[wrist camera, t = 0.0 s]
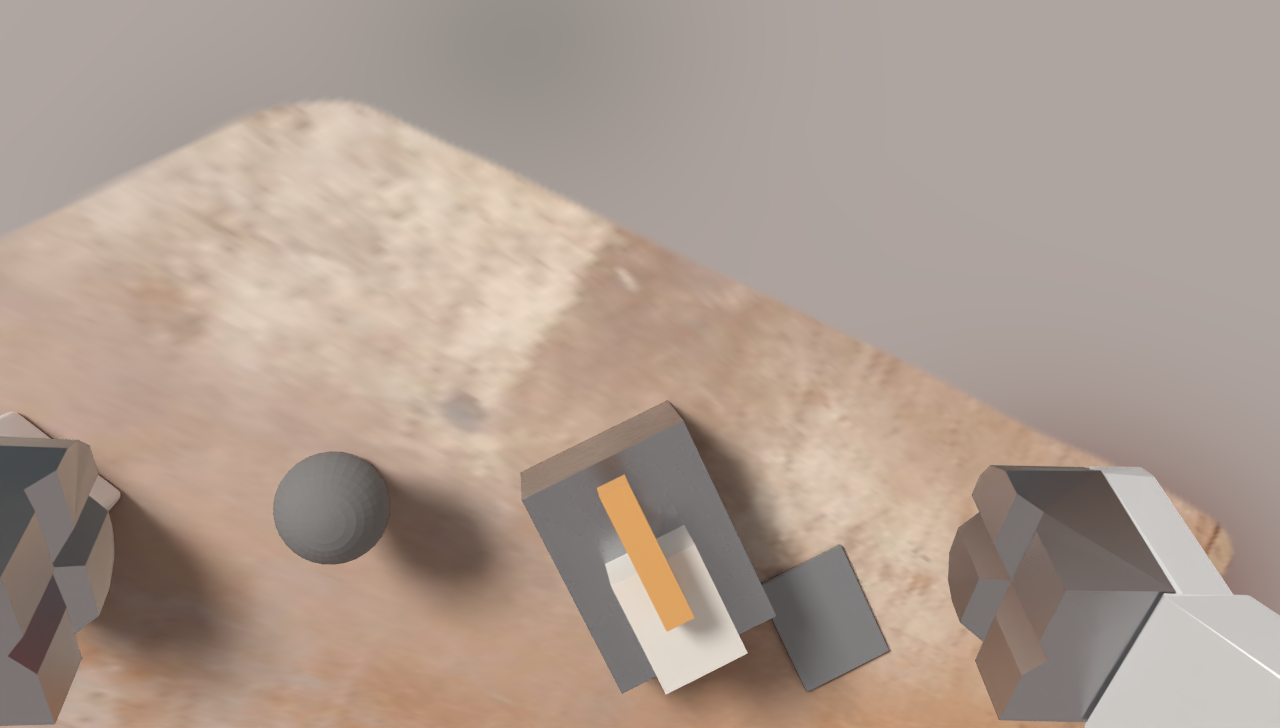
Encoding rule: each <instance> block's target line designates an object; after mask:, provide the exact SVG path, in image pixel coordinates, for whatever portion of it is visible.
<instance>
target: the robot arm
mask: <svg viewBox="0 0 1280 728" xmlns="http://www.w3.org/2000/svg"><path fill="white" fill-rule="evenodd" d="M97 476H98V470H97V467H96V464H95V461H94V458H93V454H92V451H91V448H90V445H88V444H86V443H84V442H82V441H80V440H68V439H48V438H28V437H8V436H0V726H12V725H46V724H55V723H56V721H57V718H58V716H59V713H60V711H61V709H62V706H63V704H64V701H65V699H66V696H67V694H68V691H69V689H70V687H71V684H72V682H73V679H74V677H75V674H76V672H77V669H78V667H79V665H80V662H81V660H82V656H81V652H80V649H79V646H78V642H77V639H76V636H75V634H76V633H77V632H78V631H80V630H81V629H82V628H84V627H85V626H86V625H87V624H89V623H90V622H91V621H93V620H94V619H95V618H97V617H98V616H99V615H100V612H101V610H102V607H103V604H104V602H105V599H106V596H107V594H108V591H109V588H110V582H111V576H112V570H113V564H114V557H115V552H114V533H113V528H112V524H111V520H110V515H109V511H108V510H107V509H105V508H104V507H103V506H102V505H100V504H99V503H98V502H97V501H95V500H94V499H93V498H92V497H90V496H89V494H90V492H91V490H92V487H93V485H94V483H95V481H96V479H97ZM972 497H973V499H974V501H975V503H976V506H977V508H978V510H979V513H978V514H976V515H975V516H974V517H972V518H971V519H969V520H968V521H967V522H965V523H964V524H963V525H961V526H960V527H959V528H958V530H957V533H956V536H955V538H954V541H953V544H952V547H951V550H950V552H949V572H948V582H949V587H950V593H951V598H952V602H953V605H954V608H955V610H956V613H957V616H958V618H959V621H960V623H961V624H963V625H964V626H965V627H966V628H967V629H968V630H970V631H971V632H972V633H973V634H974V635H976V636H977V637H978V638H979V639H980V640H982V641H983V643H982V645H981V648H980V650H979V652H978V655H977V657H976V660H975V662H976V664H977V667H978V669H979V672H980V674H981V677H982V679H983V682H984V684H985V686H986V689H987V691H988V694H989V696H990V699H991V701H992V704H993V706H994V709H995V711H996V714H997V716H998V719H999V720H1014V721H1057V722H1086V724H1085V726H1084V727H1085V728H1280V616H1279V615H1278V614H1276V613H1274V612H1273V611H1272V610H1270V609H1269V608H1267V607H1266V606H1264V605H1263V604H1261V603H1260V602H1258V601H1257V600H1255V599H1253V598H1252V597H1251V596H1249V595H1233V594H1232V592H1231V591H1230V589H1229V588H1228V586H1227V585H1226V583H1225V582H1224V580H1223V579H1222V577H1221V576H1220V574H1219V573H1218V571H1217V570H1216V568H1215V567H1214V565H1213V564H1212V562H1211V561H1210V559H1209V558H1208V556H1207V555H1206V553H1205V552H1204V550H1203V549H1202V547H1201V546H1200V544H1199V543H1198V541H1197V540H1196V538H1195V537H1194V535H1193V534H1192V532H1191V531H1190V529H1189V528H1188V526H1187V525H1186V523H1185V522H1184V521H1183V519H1182V518H1181V516H1180V515H1179V513H1178V512H1177V510H1176V509H1175V507H1174V506H1173V504H1172V503H1171V501H1170V500H1169V498H1168V497H1167V495H1166V494H1165V492H1164V491H1163V489H1162V488H1161V486H1160V485H1159V483H1158V482H1157V481H1156V479H1155V477H1154V476H1153V475H1152V474H1150V473H1149V472H1147V471H1146V470H1144V469H1143V468H1141V467H1089V468H1085V467H1054V466H1004V465H990V466H989V467H988V468H987V469H986V470H985V471H984V472H983V473H982V474H981V475H980V477H979V479H978V481H977V484H976V486H975V488H974V491H973V493H972Z"/></svg>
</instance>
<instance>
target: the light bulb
mask: <svg viewBox="0 0 1280 728" xmlns="http://www.w3.org/2000/svg"><path fill="white" fill-rule="evenodd" d="M273 515H274V520H275V525H276V528H277V530H278V533H279V535H280V537H281V538H282V539H283V541H284V542H285V544H286V545H287V546H288V547H289V548H290V549H291V550H292V551H293V552H294V553H296V554H297V555H299V556H300V557H302V558H304V559H306V560H309V561H311V562H315V563H320V564H340V563H346V562H349V561H351V560H354V559H357V558H358V557H360V556H362V555H363V554H365V553H367V552H368V551H369V550H370V549H371V548H372V547H373V546H375V545H376V543H377V542H378V541H379V539H380V538H381V537H382V535H383V532H384V530H385V528H386V526H387V523H388V519H389V515H390V499H389V494H388V490H387V487H386V485H385V482H384V480H383V479H382V477H381V476H380V474H379V473H378V471H377V470H376V469H375V468H374V467H373V466H372V465H371V464H369V463H368V462H367V461H366V460H364V459H363V458H361V457H358V456H355V455H352V454H348V453H344V452H325V453H319V454H316V455H313V456H310V457H308V458H306V459H304V460H303V461H301V462H299V463H297V464H296V465H295V466H294V467H293V468H292V469H291V470H290V471H289V472H288V473H287V474H286V475H285V477H284V478H283V479H282V481H281V482H280V484H279V487H278V489H277V491H276V494H275V498H274V506H273Z"/></svg>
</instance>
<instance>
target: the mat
mask: <svg viewBox="0 0 1280 728" xmlns="http://www.w3.org/2000/svg"><path fill="white" fill-rule="evenodd" d="M761 585H762V587H763V589H764V591H765V593H766V595H767V597H768V599H769V602H770V604H771V606H772V608H773V610H774V612H775V614H776V616H775V617H773V618H772V620H773V622H774V625H775V627H776V629H777V631H778V633H779V635H780V637H781V639H782V641H783V643H784V646H785V648H786V650H787V652H788V654H789V656H790V658H791V660H792V662H793V664H794V666H795V669H796V671H797V673H798V675H799V677H800V679H801V681H802V683H803V685H804V687H805V690H806V691H807V692H809V691H811V690H813V689H815V688H817V687H819V686H821V685H822V684H824V683H826V682H828V681H830V680H832V679H834V678H836V677H838V676H840V675H842V674H844V673H846V672H848V671H850V670H852V669H854V668H856V667H858V666H860V665H862V664H864V663H866V662H868V661H870V660H872V659H874V658H876V657H878V656H880V655H882V654H883V653H885V652H887V651H889V649H888V647H887V645H886V643H885V641H884V638H883V636H882V634H881V632H880V630H879V627H878V625H877V623H876V621H875V619H874V616H873V614H872V612H871V610H870V608H869V605H868V603H867V601H866V599H865V597H864V594H863V592H862V590H861V588H860V586H859V583H858V581H857V579H856V577H855V575H854V572H853V570H852V568H851V566H850V564H849V561H848V559H847V557H846V555H845V553H844V550H843V548H842V546H841V545H838V546H836V547H834V548H832V549H830V550H828V551H826V552H824V553H822V554H820V555H818V556H816V557H814V558H812V559H810V560H808V561H806V562H804V563H802V564H800V565H798V566H796V567H794V568H792V569H790V570H788V571H786V572H784V573H782V574H780V575H778V576H776V577H774V578H772V579H770V580H768V581H766V582H764V583H762V584H761Z"/></svg>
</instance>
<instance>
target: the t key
mask: <svg viewBox="0 0 1280 728" xmlns="http://www.w3.org/2000/svg"><path fill="white" fill-rule="evenodd" d="M597 491H598V494H599V497H600V500H601V502H602V504H603V506H604V508H605V510H606V512H607V514H608V516H609V518H610V520H611V522H612V524H613V525H614V527H615V529H616V531H617V533H618V535H619V537H620V539H621V541H622V543H623V545H624V547H625V549H626V551H627V553H628V555H629V557H630V559H631V561H632V563H633V565H634V567H635V569H636V571H637V573H638V575H639V577H640V579H641V581H642V583H643V585H644V587H645V589H646V591H647V593H648V595H649V597H650V599H651V601H652V603H653V605H654V607H655V609H656V611H657V613H658V615H659V617H660V619H661V621H662V623H663V625H664V627H665V629H666V631H667V632H668V631H670V630H672V629H674V628H676V627H678V626H680V625H682V624H684V623H686V622H688V621H690V620H692V619H694V618H695V617H694V615H693V613H692V611H691V608H690V606H689V604H688V602H687V600H686V598H685V596H684V594H683V592H682V590H681V588H680V586H679V584H678V582H677V580H676V578H675V576H674V574H673V572H672V570H671V568H670V566H669V564H668V561H667V559H666V557H665V555H664V553H663V551H662V549H661V547H660V545H659V543H658V541H657V539H656V537H655V535H654V533H653V531H652V529H651V527H650V525H649V523H648V521H647V519H646V517H645V515H644V513H643V511H642V509H641V507H640V505H639V503H638V501H637V499H636V497H635V495H634V493H633V491H632V489H631V486H630V484H629V482H628V480H627V478H626V476H625V474H624V475H622V476H620V477H618V478H616V479H614V480H612V481H610V482H608V483H606V484H604V485H602V486H600V487H598V488H597Z"/></svg>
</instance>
